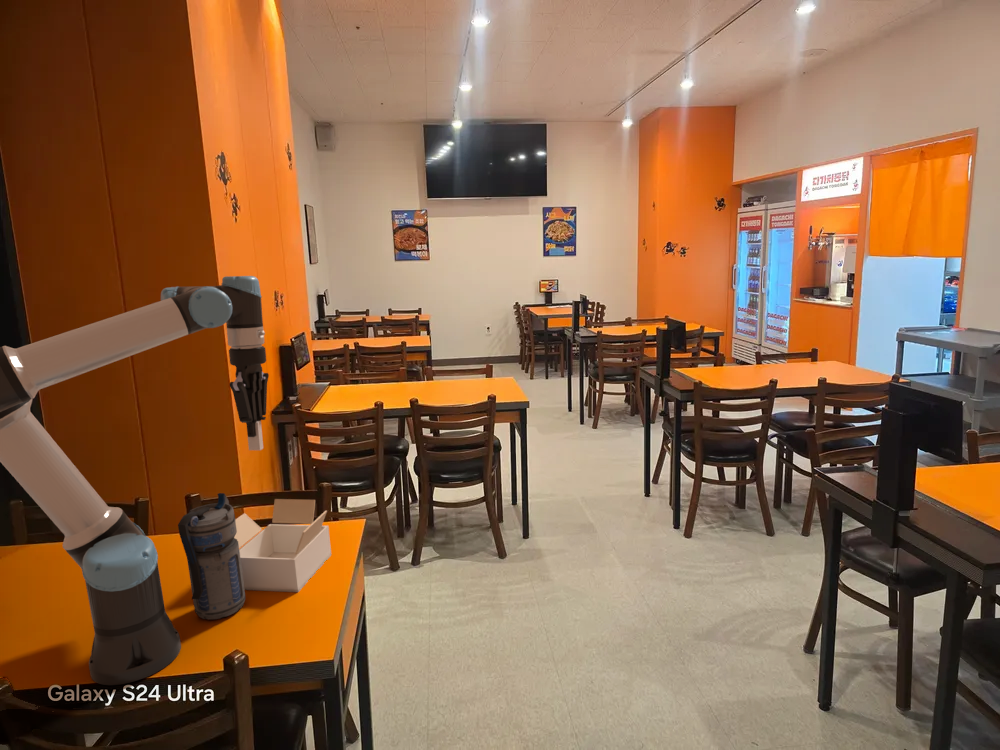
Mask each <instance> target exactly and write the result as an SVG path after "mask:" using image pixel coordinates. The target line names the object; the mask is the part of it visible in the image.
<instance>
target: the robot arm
mask: <svg viewBox="0 0 1000 750" xmlns="http://www.w3.org/2000/svg"><path fill="white" fill-rule="evenodd" d="M262 297H263V296H262V295H261V285H260V281H259V279H258V278H257V277H256V276H254V275H240V276H238V275H237V276H236V275H235V276H234V275H233V276H232V275H229V276H227V275H226V276H223V277H222V281H221V285H219V284H218V285H213V286H212V285H209V286H208V285H206V286H205V285H202V286H201V285H200V286H198V285H197V286H180V285H179V286H171V287H165V288H163V289H162V290H161V292H160V301H156V302H152V303H151V304H148V305H144V306H142V307H141V306H140V307H138V308H135V309H133V310H129V311H126V312H123V313H120V314H117V315H114V316H112V317H108V318H105V319H102V320H99V321H95V322H93V323H90V324H89V323H88V324H87V325H83V326H81V327H79V328H74V329H71V330H68V331H65V332H62V333H60V334H57V335H54V336H50V337H48V338H47V337H46V338H44V339H41V340H38V341H35V342H33V343H30V344H25V345H23V346H20V347H17V348H13V347H10V346H7V345H3V346H0V463H1V464H2V466H3V467H4V468H5V470H7V471H8V472H9V474H11V476H12V477H13V478H14V479H15V480H16V482H17V483H19V484H18V485H20V487H22V488H23V490H24V491H25V492H26V493H27V494H28V495H29V497H30V498H31V499H32V500H33V501H34V502H35V503H36V504H37V505H38V507H40V509H41V510H42V511H43V512H44V513H45V514H46V516H47V517H48V518H49V519H50V521H52V523H53V524H54V525H55V526H56V527H57V528H58V530H59V531H60V532H61V533H62V534H63V535H64V539H63V542H62V548H63V549H64V551H66V553H67V554H68V555H69V556H70V557H71V558H72V559H73V561H74V562H75V563H76V564H77V565H78V567H80V569H81V572H82V573H81V574H82V576H83V579H84V581H85V586H86V592H87V598H88V603H89V609H90V614H91V619H92V625H93V630H94V631H93V632H94V635H93V636H94V637H93V641H92V646H91V652H90V653H91V654H90V656H89V661H88V669H89V673H90V674H89V675H90V678H91V680H92V681H93V682H95V683H97V684H99V685H102V686H120V685H125V684H129V683H134V682H136V681H139V680H142V679H143V680H144V679H145V678H148V677H149V676H152V675H154V674H156V673H158V672H159V671H162V670H163V669H165V668H166V667H167V666H168V665H170V664H171V663H172V662H174V660H175V659H176V658H177V657H178V656H179V654H180V651H181V649H182V643H181V637H180V633H179V632H178V630H177V629H176V627H174V625H173V623H172V621H171V619H170V617H169V615H168V614H167V612H166V608H165V601H164V595H163V589H162V582H161V576H160V570H159V564H158V560H159V555H158V552H157V551H158V550H157V547H156V546H155V543H154V542H153V540H152V539H151V538H149V537H148V536H147V535H146V534H145V533H144V530H143V529H141V527H140V526H139V525H137V524H136V523H135V522H133V521H132V520H131V519H130V518H129V517H128V515H127V514H126V513H125V511H124V510H123V509H122V508H120V507H117V506H116V507H114V506H108V504H107V503H106V502H105V500H104V499H103V498H102V497H101V496H100V495H99V494H98V492H97V491H96V490H95V489H94V487H93V486H92V485H91V484H90V482H89V481H88V480H87V478H85V476H84V475H83V474H82V473H81V472H80V470H79V469H78V468H77V466H76V465H74V463H73V462H72V460H71V459H70V458H69V457H68V455H66V453H65V452H64V451H63V449H62V448H61V447H60V446H59V445H58V444H57V442H56V441H55V440H54V439H53V438H52V436H51V435H50V433H48V431H47V430H46V428H44V426H43V425H42V424H41V423H40V421H39V420H38V419H37V418H36V417H35V416H34V414H33V413H32V412H31V407H32V404H33V399H35V397H36V395H37V394H38V392H39V391H40V390H41V389H45V388H47V387H50V386H53V385H56V384H58V383H61V382H64V381H67V380H69V379H72V378H75V377H78V376H80V375H83V374H85V373H88V372H90V371H93V370H97V369H98V368H101V367H105V366H106V365H107V366H108V365H110V364H112V363H114V362H117V361H120V360H123V359H125V358H128V357H131V356H133V355H136V354H139V353H143V352H144V351H147V350H150V349H152V348H156V347H158V346H160V345H163V344H166V343H169V342H172V341H174V340H177V339H180V338H182V337H185V336H188V335H192V334H194V333H197V332H199V331H203V330H205V329H214V328H218V327H221V326H223V325H224V324H226V325H225V326H226V336H227V345H228V346H229V347H230V348H229V349H228V358H229V364H230V365H231V366H234V367H235V380H234V381H230V382H229V387H230V389H231V391H232V395H233V398H234V403H235V407H236V411H237V415H238V420H239V422H241V423H242V424H245V423H246V432H247V433H246V435H247V442H248V443H247V445H248V446H247V447H248V451H262V450H263V449H264V441H263V440H264V439H263V429H262V421H265V420H266V419H267V417H266V414H267V398H268V396H267V394H268V381H269V376H270V374H269V373H268V372H264V371H263V367H262V364H265V363H266V362H267V353H266V347H265V345H264V344H265V335H266V332H265V330H264V321H263V305H262Z"/></svg>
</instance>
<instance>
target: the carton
mask: <svg viewBox="0 0 1000 750" xmlns="http://www.w3.org/2000/svg"><path fill="white" fill-rule="evenodd" d="M235 522H236V529H237V533H236V535H235V537H234V538H235V539H237V541H238V544H239V552H240V560H241V567H242V575H243V583H244V590H245V591H246V590H247V591H262V592H263V591H265V592H286V593H299V592H300V591H301V590H302V588H304V587H305V586H306V584H307V583H308V582H309V581H310V580H311V579H310V578H312V577H313V576H315V575H316V573H317V572H318V571H319V570H320V568H321V567H322V566H323V565H324V564H325V563H326V562H327V561H326V560H328V559H330V558H331V556H332V548H331V547H332V546H331V540H330V539H331V538H330V527H329V525H322V526H321V529H320V532H319V533H318V534H317V535H316V536H315V537H314V538H313V539H312V540H311V541H310V542H309V543H308V544H307V545H306V546H305V547H304V548H303V549H302V550H301V551H300V552H299V553H298V554H295V552H296V550H297V547H298V544H299V541H300V539H301V536H302V533H303V531H304V530H305V529H306V528H307V527H309V526H310V525H311V524H282V523H270V524H268V525H267V526H266V527H264V529H262V528H261V526H260V525H258V523H256V521H254V520H253V519H252V518H251V517H249V515H248V514H246V513H245V512H244V513H242V514H241V515H240V516H238V517H237V518H235ZM325 561H326V562H325ZM324 562H325V563H324ZM318 569H319V570H318ZM317 570H318V571H317ZM316 571H317V572H316ZM309 579H310V580H309ZM308 580H309V581H308Z"/></svg>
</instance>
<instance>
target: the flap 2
mask: <svg viewBox="0 0 1000 750" xmlns="http://www.w3.org/2000/svg"><path fill="white" fill-rule="evenodd" d="M327 513H328V510H324V511H323V513H321V514H320V515H319V516H318V517H316V519H315V520H313V523H312V524H309V525H310V526H309V527H307V528H306V529H305V530H304V531H303V533H302V536H301V539H300V541H299V544H298V547H297V550H296V552H295V554H298V553H299V552H300V551H301V550H302V549H303V548H304V547H305V546H306V545H307V544H308V543H309V542H310V541H311V540H312V539H313V538H314V537H315V536H316V535H317V534H318V533H319V532H320V529H321V526H323V523H324V520H325V518H326V516H327Z"/></svg>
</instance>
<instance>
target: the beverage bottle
mask: <svg viewBox="0 0 1000 750" xmlns="http://www.w3.org/2000/svg"><path fill="white" fill-rule="evenodd" d="M217 497H218V499H217V500H218V501H217V503H209V504H205V505H201V506H197V507H195V508H192V509H190V510H189V511H188V513H186V514H183V516H182V517H181V519H180V520H179V522H178V524H177V528H178V534H179V537H180V538H179V539H180V540H181V545H182V547H183V551H184V553H185V555H186V559H187V567H188V573H189V580H190V587H191V595H192V597H191V600H193V601H192V602H193V608H194V613H195V614H196V615H197V616H198V617H199V618H201V619H203V620H209V621H210V620H219V619H222V618H226V617H228V616H231V615H233V614H235V613H237V612H238V611H239V610H240V609H242V608H243V606H244V604H245V601H246V592H245V591H246V590H244V583H243V575H242V567H241V560H240V552H239V549H240V548H239V544H238V541H237V539H235V538H234V537H235V535H236V533H237V529H236V522H235V520H236V515H235V511H234V507H233V505H231V504H230V501H229V499H228V497H227V495H226V494H225V493H223V492H219V493H217Z"/></svg>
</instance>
